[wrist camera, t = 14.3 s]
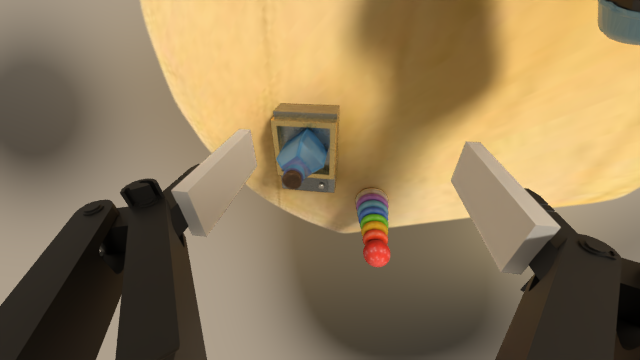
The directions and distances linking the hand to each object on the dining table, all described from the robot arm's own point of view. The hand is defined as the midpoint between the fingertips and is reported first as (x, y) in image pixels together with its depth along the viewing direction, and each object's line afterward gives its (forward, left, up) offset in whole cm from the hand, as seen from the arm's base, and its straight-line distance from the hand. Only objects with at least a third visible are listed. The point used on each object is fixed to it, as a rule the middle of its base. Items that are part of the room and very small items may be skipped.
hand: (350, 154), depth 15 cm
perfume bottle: (+14, -9, -28) cm, 32 cm away
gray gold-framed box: (+16, -9, -33) cm, 37 cm away
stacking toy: (+30, +6, -33) cm, 45 cm away
